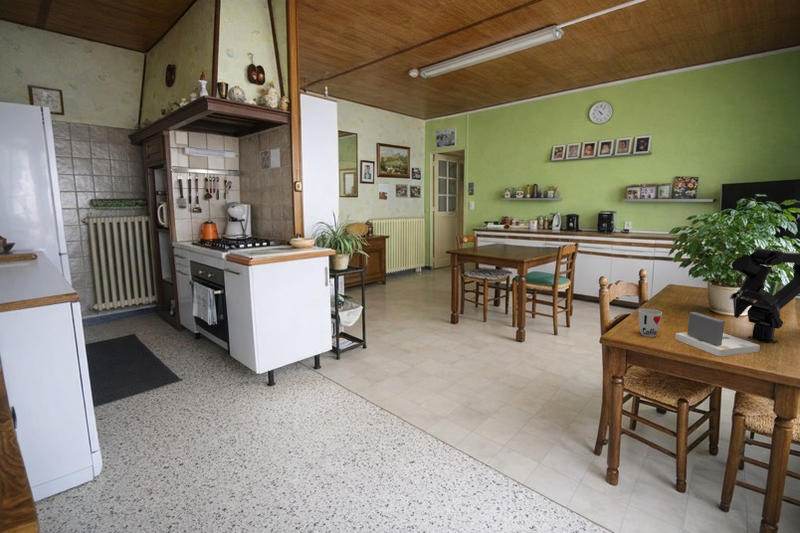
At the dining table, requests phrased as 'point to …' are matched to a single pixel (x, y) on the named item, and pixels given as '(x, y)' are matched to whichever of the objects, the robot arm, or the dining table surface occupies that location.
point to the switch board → (728, 346)
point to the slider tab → (705, 328)
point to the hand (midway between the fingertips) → (735, 317)
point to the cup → (649, 321)
